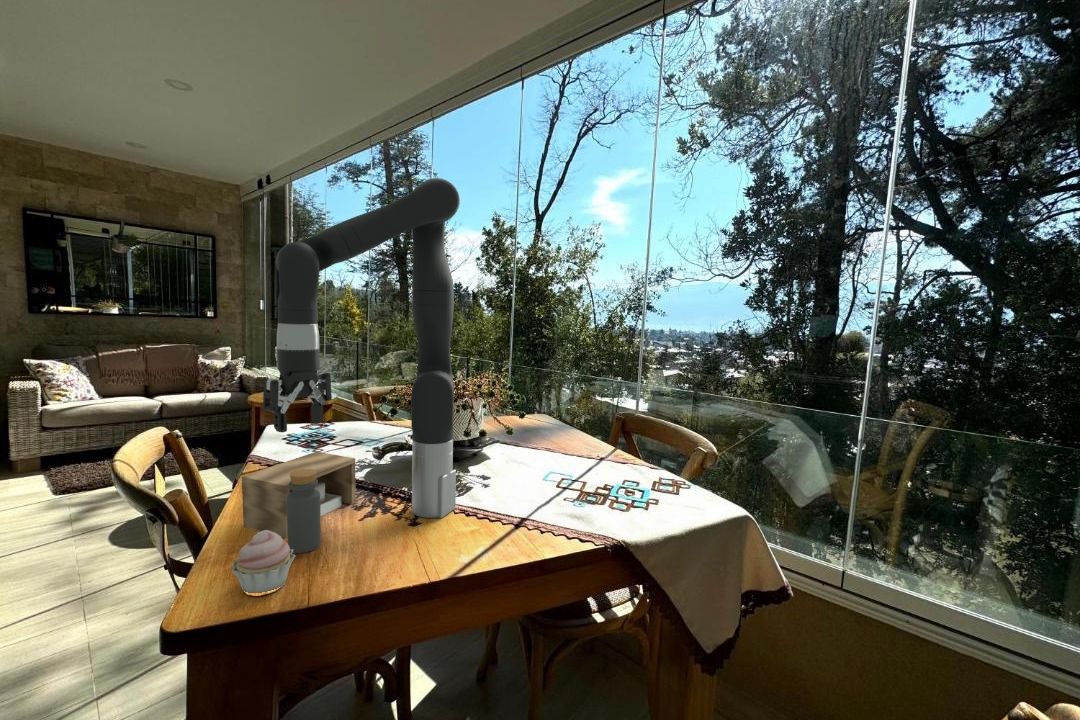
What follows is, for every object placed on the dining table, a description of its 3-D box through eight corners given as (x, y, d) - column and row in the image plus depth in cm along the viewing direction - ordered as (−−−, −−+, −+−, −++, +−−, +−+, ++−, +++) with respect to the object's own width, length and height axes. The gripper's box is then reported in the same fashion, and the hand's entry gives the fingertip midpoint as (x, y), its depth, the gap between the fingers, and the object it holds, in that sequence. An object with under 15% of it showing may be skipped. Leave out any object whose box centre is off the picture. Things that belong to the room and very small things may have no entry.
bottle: (312, 554, 92) (310, 478, 91) (281, 553, 93) (280, 477, 91) (326, 539, 98) (325, 468, 97) (297, 538, 98) (296, 467, 97)
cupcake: (269, 607, 76) (268, 546, 75) (218, 599, 78) (216, 539, 77) (308, 575, 85) (307, 521, 84) (261, 568, 87) (259, 515, 86)
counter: (355, 502, 117) (355, 458, 116) (286, 537, 98) (284, 485, 97) (317, 494, 121) (316, 451, 120) (243, 526, 103) (241, 476, 101)
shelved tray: (341, 505, 115) (341, 482, 114) (292, 530, 102) (292, 503, 101) (315, 500, 118) (315, 477, 117) (264, 523, 104) (263, 497, 104)
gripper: (281, 350, 87) (282, 437, 89) (340, 345, 100) (341, 422, 102) (251, 347, 90) (254, 432, 92) (313, 343, 103) (314, 418, 105)
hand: (299, 427), depth 97 cm, fingers open, 8 cm apart
